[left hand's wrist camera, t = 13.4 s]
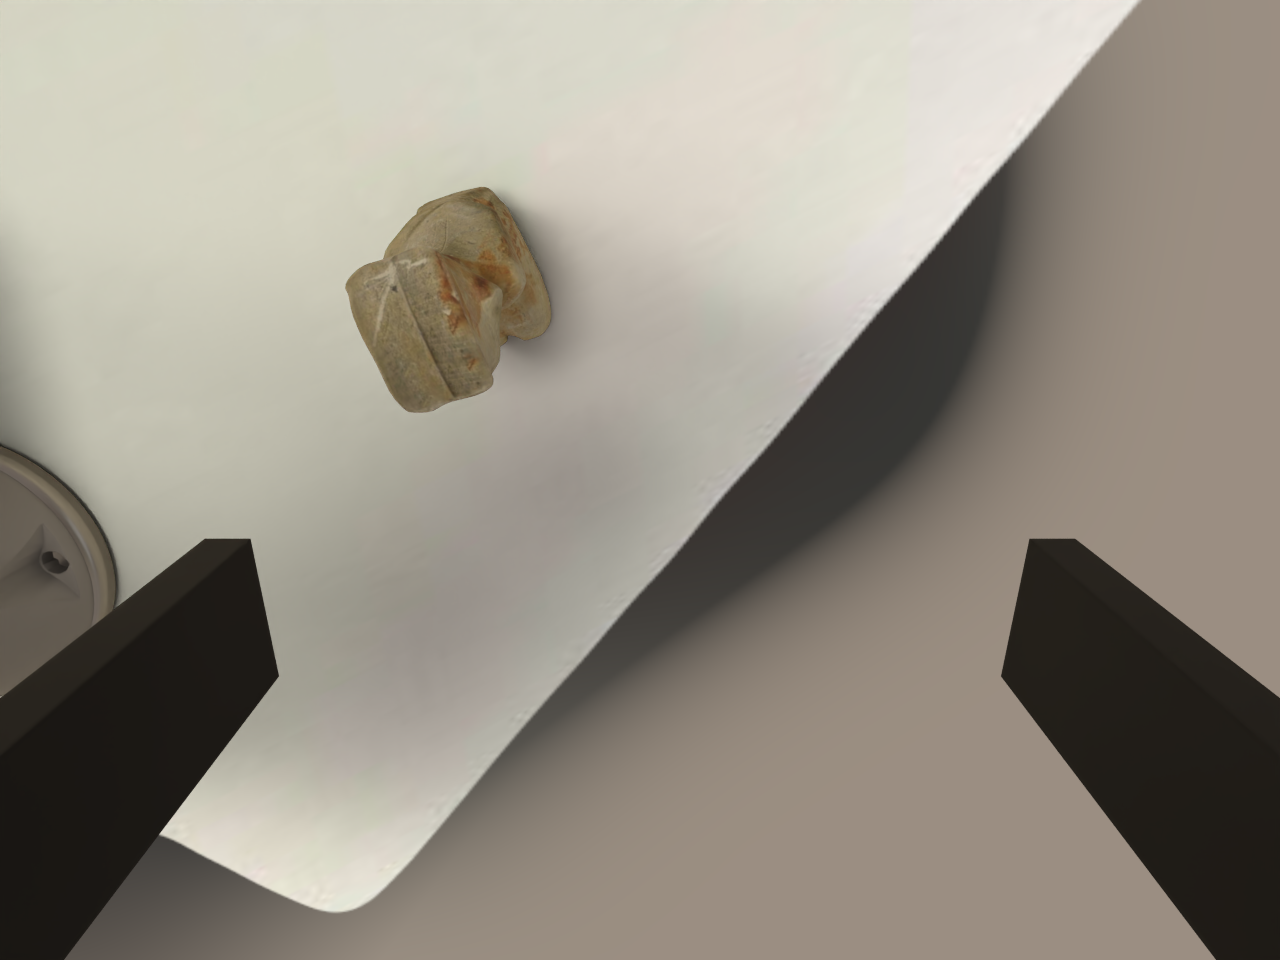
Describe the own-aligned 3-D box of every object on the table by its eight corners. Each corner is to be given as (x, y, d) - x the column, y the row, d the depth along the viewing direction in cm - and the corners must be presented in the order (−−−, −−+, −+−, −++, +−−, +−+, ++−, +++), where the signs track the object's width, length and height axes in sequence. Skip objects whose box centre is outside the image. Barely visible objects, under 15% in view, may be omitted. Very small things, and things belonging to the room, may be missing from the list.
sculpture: (462, 353, 38) (358, 442, 24) (413, 208, 36) (266, 213, 22) (570, 325, 38) (529, 400, 23) (529, 177, 35) (455, 161, 21)
